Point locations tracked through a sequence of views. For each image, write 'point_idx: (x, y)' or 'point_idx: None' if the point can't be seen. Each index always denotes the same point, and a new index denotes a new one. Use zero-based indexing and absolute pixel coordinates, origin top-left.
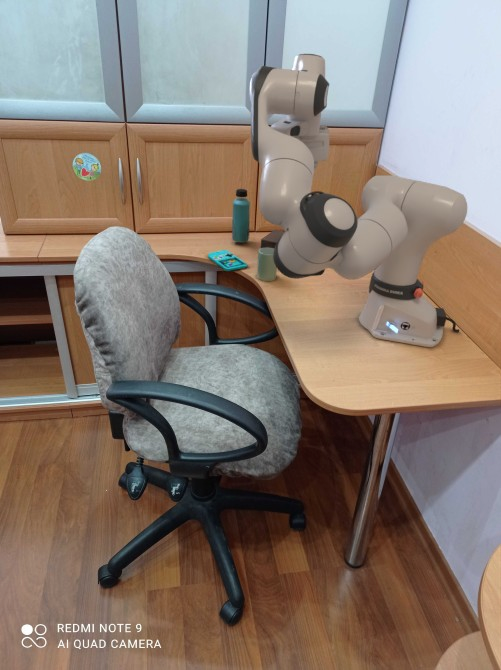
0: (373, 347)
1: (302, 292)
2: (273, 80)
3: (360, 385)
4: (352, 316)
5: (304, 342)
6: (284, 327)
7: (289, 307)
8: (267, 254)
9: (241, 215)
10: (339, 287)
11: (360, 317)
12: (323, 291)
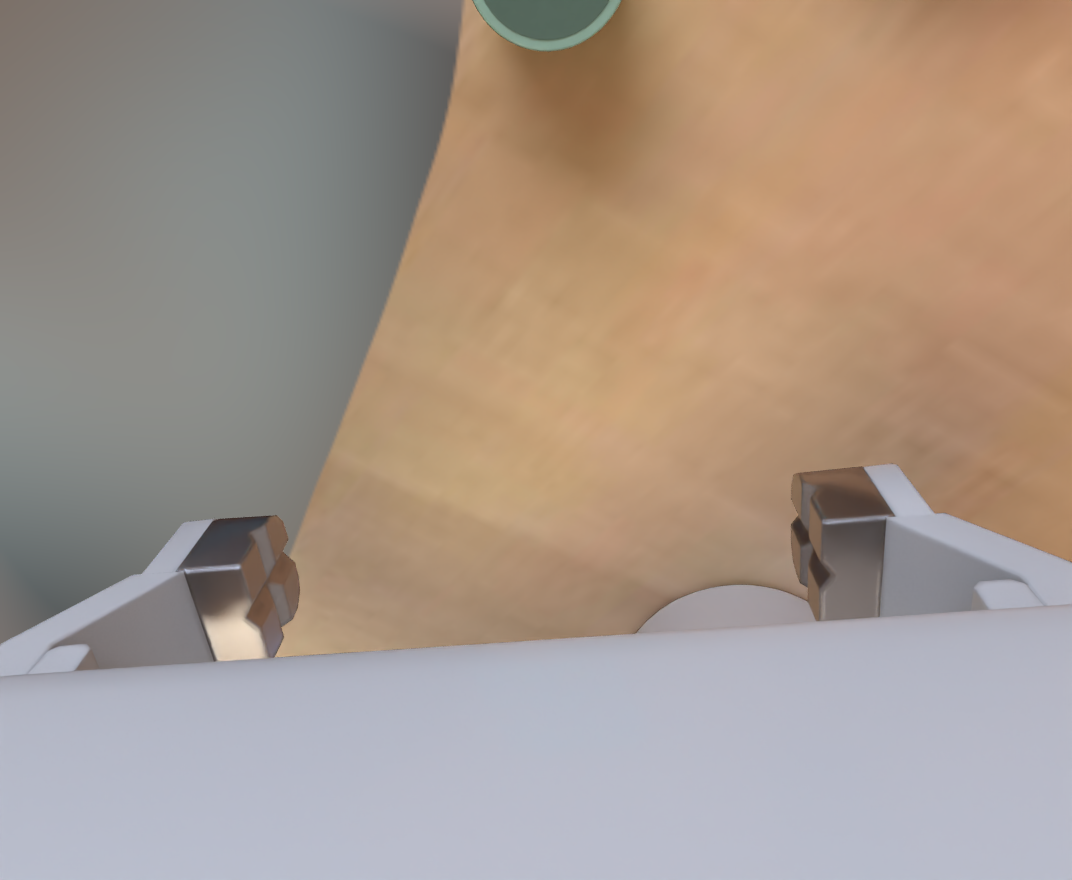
0: None
1: (619, 280)
2: None
3: None
4: (657, 577)
5: (334, 616)
6: (320, 502)
7: (446, 377)
8: (499, 22)
9: None
10: (854, 337)
11: (654, 628)
12: (734, 329)
